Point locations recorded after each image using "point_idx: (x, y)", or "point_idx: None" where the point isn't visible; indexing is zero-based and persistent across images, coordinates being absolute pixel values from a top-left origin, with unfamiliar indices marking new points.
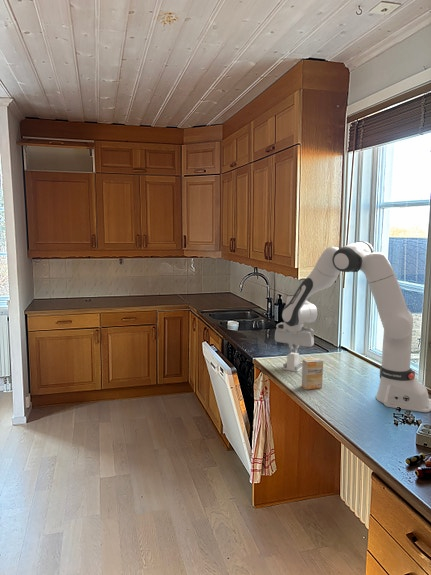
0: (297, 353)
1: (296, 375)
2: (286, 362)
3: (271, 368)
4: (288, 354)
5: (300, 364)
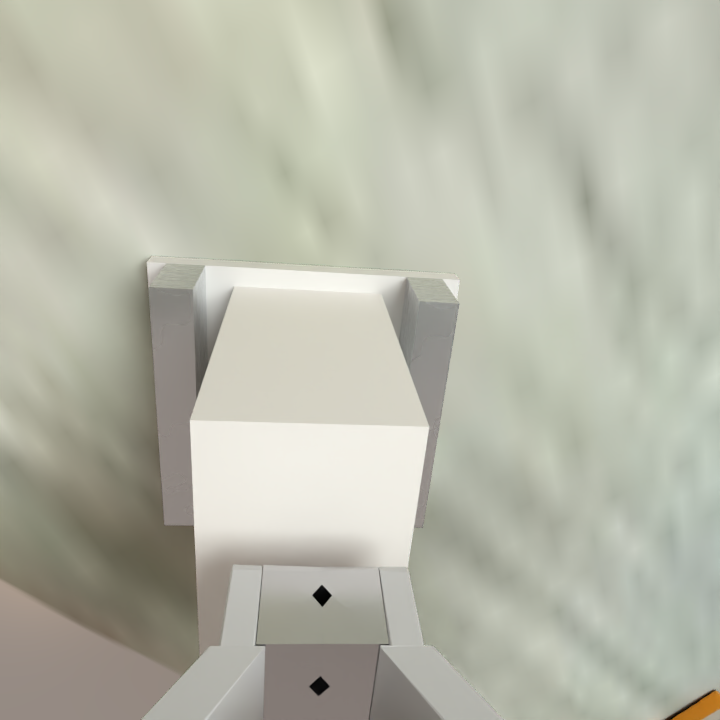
0: (382, 453)
1: (446, 581)
2: (163, 420)
3: (12, 523)
4: (206, 626)
5: (444, 391)
